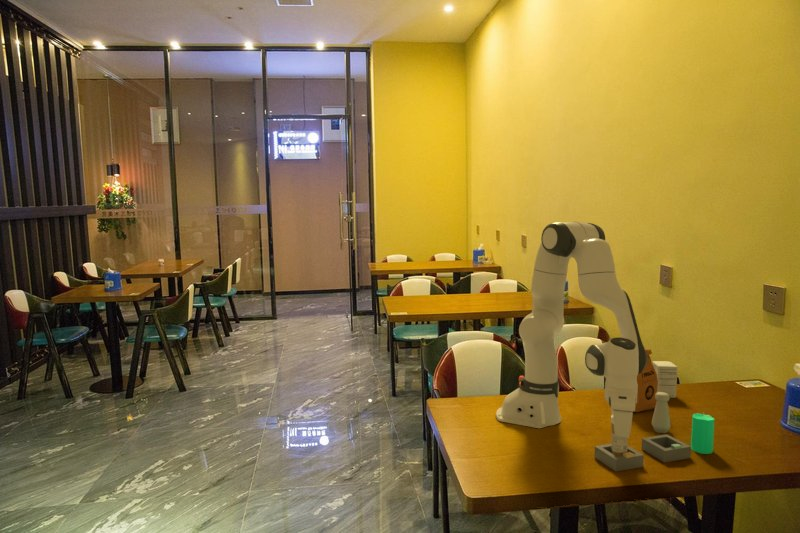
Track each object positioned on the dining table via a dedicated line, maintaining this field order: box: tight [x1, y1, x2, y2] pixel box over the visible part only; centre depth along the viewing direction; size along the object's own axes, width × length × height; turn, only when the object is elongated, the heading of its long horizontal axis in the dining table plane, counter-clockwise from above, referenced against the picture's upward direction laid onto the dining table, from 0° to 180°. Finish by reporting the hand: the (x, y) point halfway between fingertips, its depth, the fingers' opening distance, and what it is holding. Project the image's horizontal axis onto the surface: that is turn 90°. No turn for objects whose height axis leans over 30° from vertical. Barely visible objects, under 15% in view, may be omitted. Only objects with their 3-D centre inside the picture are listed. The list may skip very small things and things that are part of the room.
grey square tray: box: [641, 433, 692, 463], centre depth 171 cm, size 10×10×4 cm
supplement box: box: [651, 360, 678, 399], centre depth 223 cm, size 7×7×13 cm
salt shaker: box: [651, 392, 671, 434], centre depth 188 cm, size 6×6×13 cm
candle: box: [690, 411, 716, 455], centre depth 173 cm, size 6×6×12 cm
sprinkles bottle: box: [610, 414, 628, 457], centre depth 166 cm, size 5×5×14 cm
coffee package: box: [633, 348, 658, 413], centre depth 208 cm, size 10×12×22 cm
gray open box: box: [594, 443, 645, 472], centre depth 166 cm, size 10×10×4 cm
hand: (619, 440), depth 166 cm, fingers closed on sprinkles bottle, 4 cm apart
